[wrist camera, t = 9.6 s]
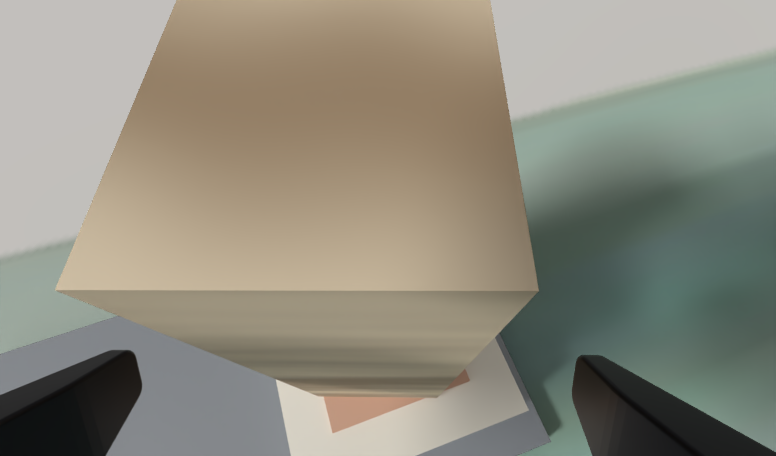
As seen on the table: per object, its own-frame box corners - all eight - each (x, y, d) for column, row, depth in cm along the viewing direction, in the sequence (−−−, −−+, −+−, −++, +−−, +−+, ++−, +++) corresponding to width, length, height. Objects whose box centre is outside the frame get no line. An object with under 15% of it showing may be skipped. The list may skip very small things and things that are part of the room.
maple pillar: (436, 398, 15) (539, 291, 4) (318, 396, 15) (55, 290, 4) (432, 284, 17) (488, -14, 6) (328, 283, 17) (178, -4, 6)
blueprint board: (440, 219, 23) (446, 184, 20) (543, 441, 18) (575, 443, 14) (3, 362, 20) (-75, 348, 17) (-32, 677, 15) (-157, 748, 11)
